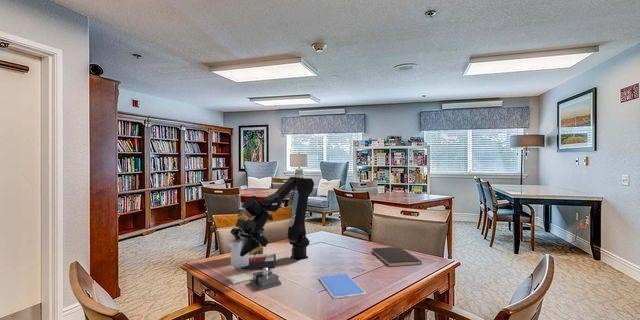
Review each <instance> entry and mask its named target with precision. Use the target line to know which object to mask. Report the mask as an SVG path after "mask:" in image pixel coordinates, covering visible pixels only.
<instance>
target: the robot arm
mask: <svg viewBox="0 0 640 320" xmlns="http://www.w3.org/2000/svg"><path fill="white" fill-rule="evenodd" d="M314 187H315V181H314V180H313V178H308V177H298V176H289V178H288V180H286V181H285V182H284V183H283V184H282V185H281V186H280V187H279V188H278V189H277V190H276V191H275V192H274V193H271V194H269V195H267V196H265V197H264V198H262V200H261V201H260V200H259V199H258V197H257V196H256V195H252V196H251V197H248V198H247V199H246V200H245V201H244V202H243V203H242V208H244V209H245V210H246V211H247V212H248V213H249V214H250V215H251V216H254V218H253V219H252V220H251V219H248V220H247V221H246V220H241V219H238V218H237V220H236V223H235V227H233V228H231V230H229V231H230V232H229V233H230V234H231V235H232V236H233V237H234V238H235V239H234V240H236V239H240V238H242V239H245V238H247V244H246V245H245V247H244V249H243V251H242V252H241V255H240V256H241V257H243V256H244V255H246V254H247V253H249V252H250V251H252V250H254V249H256V248H257V247H260V245H259V244H261V246H263V248H265V247H267V245H268V244H269V239H268V238H267V237H266V236H265V235H264V233H263V234H261V233H260V232H261V231H263V232H264V231H265V228H264V227H265V226H266V224H267V222H268V221H274V218H273V213H274V212H278V210H279V209H280V207H281V205H282V204H283V200H284V199H285V198H286V197H288V195H289V194H290V193H291V192H292V191H293V190H294V189H296V192H297V195H298V196H297V203H296V209H295V213H294V220H293V224H292V225H291V226H288V229H287V234H286V236H287V239H288V242H289V244H290V245H291V246H292V247H291V255H290V258H293V260H294V259H295V260H296V261H299V260H305V259H308V258H309V256H308V255H307V248H308V246H310V242H311V241H310V239H308V237H307V235H306V233H307V231H306V228H305V220H306V219H305V218H306V213H307V207H308V203H309V196H311V194H312V193H313V190H314ZM269 212H273V213H269ZM238 227H240V228H242V230H243V231H244V232H243V231H242V230H241V229H238Z"/></svg>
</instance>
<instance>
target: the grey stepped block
mask: <svg viewBox="0 0 640 320" xmlns="http://www.w3.org/2000/svg"><path fill="white" fill-rule="evenodd" d="M246 244H247V240H245V239H242V238H240V239H236V240H235V239H233V240H230V242H227V247H229V248H230V267H234V268H236V269H240V268H241V267H244V266H247V265H249V253H247V254H246V255H244V256H243V257H241V256H240V255H241V252H242V251H243V249H244V247H245V245H246Z"/></svg>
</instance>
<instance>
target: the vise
mask: <svg viewBox="0 0 640 320" xmlns="http://www.w3.org/2000/svg"><path fill="white" fill-rule="evenodd" d="M249 283H250V284H252V286H254V287H255V288H256V289H257V290H258V291H262V290H268V289H270V288H273V287H278V286H281V285H282V281H281V279H280V278H279V275H278V274H276V273H273V271H272V270H271V269H268V268H267V267H264V268H263V269H262V270H261V271H258V272H253V273H252V280H250V281H249Z"/></svg>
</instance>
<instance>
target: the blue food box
mask: <svg viewBox="0 0 640 320" xmlns="http://www.w3.org/2000/svg"><path fill="white" fill-rule="evenodd" d="M253 218H254V216H251V215H250V214H249V213H248V212H247V211H246V210H245V209H244V208H243V207H239V208H238V209H237V220H238V219H241V220H246V221H247V220H248V219H251V220H252V219H253ZM237 228H238V229H241V230H242V228H240V227H237ZM242 231H243V230H242ZM243 232H244V231H243ZM260 233H261V234H263V235H264V231H261V232H260ZM245 240H247V238H245ZM259 245H260V247H257V248H256V249H254V250H252V251H250V252H249V255H256V254H264V246H261V244H259Z"/></svg>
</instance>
